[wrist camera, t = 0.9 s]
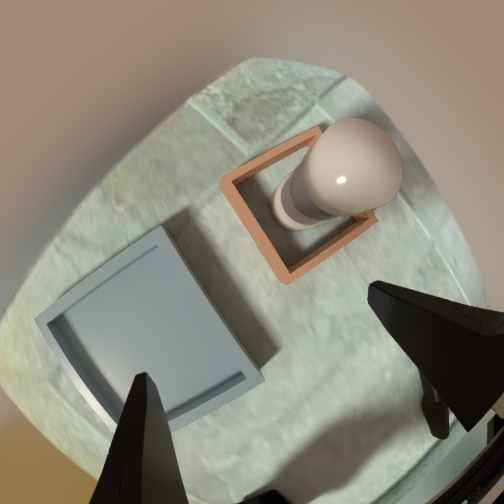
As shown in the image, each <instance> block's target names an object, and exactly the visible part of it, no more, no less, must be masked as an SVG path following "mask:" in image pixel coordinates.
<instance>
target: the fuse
mask: <svg viewBox="0 0 504 504" xmlns="http://www.w3.org/2000/svg"><path fill="white" fill-rule="evenodd" d="M402 176H403V169H402V162H401V158H400V155H399V152H398V150H397V148H396V146H395V144H394V143H393V141H392V140H391V138H390V137H389V136H388V135H387V134H386V133H385V132H384V131H383V130H382V129H381V128H379V127H378V126H377V125H375V124H373V123H371V122H369V121H367V120H364V119H360V118H344V119H340V120H338V121H336V122H334V123H333V124H332V125H330V126H329V127H328V128H327V130H326V131H325V132H324V133H323V134H322V135H321V136H320V138H319V139H318V140H317V141H316V142H315V143H314V145H313V146H312V147H311V148H310V149H309V150H308V152H307V153H306V155H305V156H304V159H303V161H302V164H301V165H300V166H299V167H298V168H297V169H296V170H295V171H294V172H292V173H290V174H289V175H288V176H286V177H285V178H284V180H283V181H282V182H281V183H280V184H279V185H278V187H277V188H276V189H275V190H274V192H273V194H272V197H271V202H270V206H271V212H272V214H273V217H274V218H275V220H276V221H277V222H278V224H279V225H281V226H282V227H283V228H285V229H287V230H290V231H295V232H299V231H305V230H308V229H311V228H314V227H317V226H320V225H321V224H323V223H324V222H326V221H327V220H329V219H332V218H335V217H337V216H340V217H346V216H351V215H355V214H358V213H361V212H364V211H367V210H370V209H374V208H377V207H380V206H382V205H385V204H387V203H388V202H390V201H391V200H392V199H393V198H394V197H395V196H396V194H397V192H398V191H399V188H400V186H401V182H402Z"/></svg>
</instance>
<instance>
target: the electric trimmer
mask: <svg viewBox="0 0 504 504" xmlns="http://www.w3.org/2000/svg"><path fill="white" fill-rule="evenodd" d="M418 370H419V369H418ZM419 374H420V378H421V382H422V387H423V391H424V396H425V397H424V400H423V402H422V409H423V412H424V415H425V417H426V420H427V423H428V425H429V428H430V431H431V433H432V435H433V436H434V437H436V438H439V439H443V440H444V439H446V438H448V436H449V412H448V406H447V405H446V403H445V402H444V401H443V399H442V398H441V397H440V395H439V394H438V393H437V391H436V390H435V389H434V388H433V386H432V385H431V384H430V383H429V381H428V380H427V379H426V378H425V376H424V375H423V374H422V373H421V371H420V370H419Z"/></svg>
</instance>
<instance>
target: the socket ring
mask: <svg viewBox="0 0 504 504" xmlns="http://www.w3.org/2000/svg"><path fill="white" fill-rule="evenodd" d="M322 134H323V132H322V131H321V129H320V128H319V127H318V126H316V127H314V128H312V129H310V130H308V131H306V132H304V133H302V134H300V135H298V136H296V137H294V138H292V139H290V140H288V141H287V142H285V143H283V144H281V145H279V146H277V147H275V148H273V149H271V150H270V151H268V152H266V153H264V154H262V155H260V156H259V157H257V158H255V159H253V160H251V161H250V162H248V163H246V164H244V165H242V166H241V167H239V168H237V169H235V170H234V171H232V172H230V173H229V174H227V175H225V176H223V177H222V178H220V188H221V190H222V191H223V193H224V194H225V196H226V198H227V199H228V201H229V202H230V204H231V205H232V207H233V208H234V210H235V212H236V213H237V215H238V216H239V218H240V219H241V221H242V223H243V224H244V226H245V227H246V229H247V230H248V232H249V234H250V235H251V237H252V238H253V240H254V241H255V243H256V245H257V246H258V248H259V249H260V251H261V252H262V254H263V256H264V257H265V259H266V260H267V262H268V264H269V265H270V267H271V268H272V270H273V271H274V273H275V275H276V276H277V278H278V279H279V281H280V282H281V283H283V284H286V285H289V284H290V283H292V282H293V281H295V280H296V279H298V278H299V277H301V276H302V275H304V274H305V273H306V272H308V271H309V270H311V269H312V268H314V267H315V266H317V265H318V264H319V263H321V262H322V261H324V260H325V259H327V258H328V257H329V256H331V255H332V254H334V253H335V252H336V251H338V250H339V249H341V248H342V247H343V246H345V245H346V244H348V243H349V242H350V241H352V240H353V239H355V238H356V237H357V236H359V235H360V234H361V233H363V232H364V231H365V230H367V229H368V228H370V227H371V226H372V225H374V224H375V223H376V222H378V220H377V218H376V216H375V214H374V213H373V211H372V209H370V210H367V211H364V212H361V213H358V214H355V215H352V216H353V217H354V219H355V221H356V222H355V223H354V224H352V225H351V226H350V227H348V228H347V229H345V230H344V231H342V232H341V233H340V234H338V235H337V236H335V237H334V238H332V239H331V240H330V241H328V242H327V243H325V244H324V245H322V246H321V247H319V248H318V249H316V250H315V251H314V252H312V253H311V254H309V255H308V256H306V257H305V258H303V259H302V260H300V261H299V262H297V263H296V264H294V265H293V266H291V267H290V268H288V269H287V268H286V266H285V265H284V263H283V261H282V260H281V258H280V257H279V255H278V253H277V252H276V250H275V249H274V247H273V246H272V244H271V242H270V241H269V239H268V238H267V236H266V234H265V233H264V231H263V230H262V228H261V227H260V225H259V223H258V222H257V220H256V219H255V217H254V216H253V214H252V212H251V211H250V209H249V208H248V206H247V205H246V203H245V202H244V200H243V198H242V197H241V195H240V194H239V192H238V191H237V189H236V188H235V186H236V185H237V184H239V183H241V182H242V181H244V180H246V179H248V178H249V177H251V176H253V175H255V174H256V173H258V172H260V171H262V170H263V169H265V168H267V167H269V166H270V165H272V164H274V163H276V162H278V161H279V160H281V159H283V158H285V157H287V156H288V155H290V154H292V153H294V152H296V151H298V150H299V149H301V148H303V147H305V146H307V145H308V147H309V148H311V147H312V146H313V145H314V143H315V142H316V141H317V140H318V139H319V138H320V136H321V135H322Z"/></svg>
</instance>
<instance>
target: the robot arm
mask: <svg viewBox="0 0 504 504" xmlns="http://www.w3.org/2000/svg"><path fill="white" fill-rule="evenodd" d="M367 300H368V304H369V305H370V307H371V308H372V310H373V311H374V313H375V314H376V315H377V317H378V318H379V320H380V321H381V323H382V324H383V326H384V327H385V329H386V330H387V331H388V333H389V334H390V335H391V336H392V337H393V339H394V340H395V341H396V342H397V343H398V345H399V346H400V347H401V348H402V349H403V351H404V352H405V353H406V354H407V355H408V357H409V358H410V359H411V360H412V362H413V363H414V364H415V365H416V366H417V368H418V369H419V370H420V371H421V373H422V374H423V375H424V376H425V378H426V379H427V380H428V381H429V383H430V384H431V385H432V386H433V388H434V389H435V390H436V391H437V393H438V394H439V395H440V397H441V398H442V399H443V401H444V402H445V403H446V405H447V406H448V407H449V409H450V410H451V411H452V412H453V414H454V415H455V416H456V418H457V419H458V420H459V422H460V423H461V424H462V426H463V427H464V429H465V430H466V431H467V432H469V431H470V430H471V429H472V428H473V427H474V426H475V425H476V424H477V423H478V422H479V421H480V420H481V419H482V417H483V416H484V415H485V414H486V413H487V412H488V411H489V410H490V409H492V410H493V411H494V412H495V413H496V414H495V415H494V416H493V417H492V418H491V420H490V421H489V422H488V423H487V427H488V428H487V446H486V447H485V448H484V450H482V452H481V453H480V454H479V455H478V456H477V457H476V458H475V459H474V460H473V461H472V462H471V463H470V464H469V465H468V466H467V467H466V468H465V469H464V470H463V471H462V472H461V473H460V474H459V475H458V476H457V477H456V478H455V479H454V480H453V481H452V482H451V483H449V484H448V485H447V486H446V487H445V488H444V489H443V490H441V492H439V493H438V494H437V495H436V496H434V497H433V498H432V499H431V500H429V501H428V502H427V503H426V504H461V503H462V502H463V501H465V500H467V501H468V503H467V504H504V312H498V311H493V310H488V309H483V308H478V307H473V306H469V305H465V304H461V303H458V302H454V301H453V302H452V301H450V300H447V299H443V298H440V297H436V296H433V295H429V294H426V293H422V292H419V291H415V290H411V289H408V288H404V287H401V286H397V285H394V284H390V283H386V282H383V281H379V280H377V281H375V282H372V283H371V284H370V285H369V288H368V298H367ZM108 453H109V454H108V455H107V458H106V461H105V464H104V467H103V470H102V473H101V476H100V478H99V481H98V484H97V486H96V488H95V490H94V493H93V495H92V498H91V500H90V502H89V504H189V503H188V499H187V496H186V492H185V489H184V485H183V482H182V478H181V474H180V470H179V466H178V462H177V458H176V454H175V450H174V446H173V441H172V436H171V432H170V427H169V424H168V421H167V417H166V414H165V411H164V408H163V405H162V402H161V398H160V395H159V392H158V389H157V386H156V384H155V383H154V381H153V380H152V379H151V377H150V376H149V374H148V373H147V372H142V373H139V374H136V375H135V377H134V380H133V382H132V385H131V388H130V391H129V393H128V396H127V399H126V402H125V404H124V407H123V410H122V413H121V416H120V419H119V421H118V424H117V427H116V430H115V433H114V436H113V439H112V442H111V445H110V449H109V452H108ZM274 493H275V494H274ZM241 504H293V503H292V502H290V501H289V500H288V499H287V498H286V497H284V496H283V495H282V494H281V493H280V492H278V491H277V490H271V491H269V492H267V493H265V494H263V495H260V496H258V497H256V498H253V499H251V500H249V501H246V502H244V503H241Z"/></svg>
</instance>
